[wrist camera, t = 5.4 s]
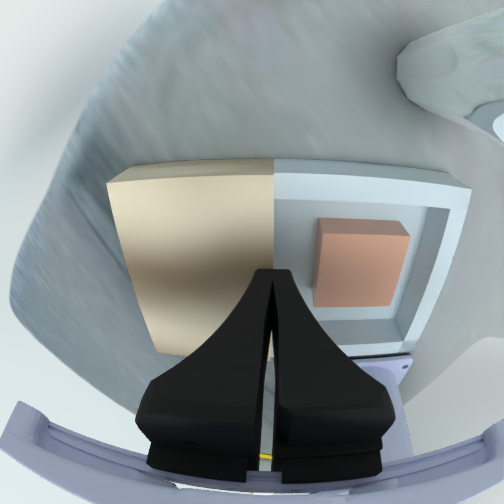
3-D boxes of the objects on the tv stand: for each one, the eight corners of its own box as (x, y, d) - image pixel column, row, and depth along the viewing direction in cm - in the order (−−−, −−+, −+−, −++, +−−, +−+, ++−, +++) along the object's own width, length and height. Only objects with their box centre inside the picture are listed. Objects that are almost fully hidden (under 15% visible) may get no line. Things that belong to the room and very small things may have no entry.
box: (402, 325, 16) (412, 350, 14) (272, 328, 17) (271, 357, 15) (447, 172, 11) (472, 189, 9) (274, 158, 12) (274, 172, 10)
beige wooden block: (272, 328, 17) (270, 361, 15) (168, 322, 18) (157, 352, 15) (274, 158, 12) (273, 175, 10) (132, 165, 12) (106, 183, 10)
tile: (313, 307, 14) (311, 287, 15) (390, 306, 13) (382, 287, 15) (323, 233, 11) (318, 217, 13) (410, 236, 11) (398, 220, 12)
